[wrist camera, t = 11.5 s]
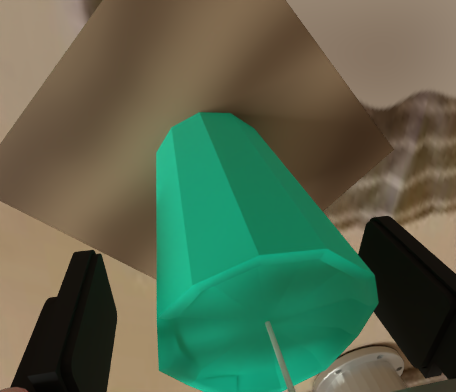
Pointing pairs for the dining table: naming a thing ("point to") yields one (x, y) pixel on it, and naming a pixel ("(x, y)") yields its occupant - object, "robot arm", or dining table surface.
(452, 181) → the dining table surface
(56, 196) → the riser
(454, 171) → the dining table surface
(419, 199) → the dining table surface
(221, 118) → the candle
